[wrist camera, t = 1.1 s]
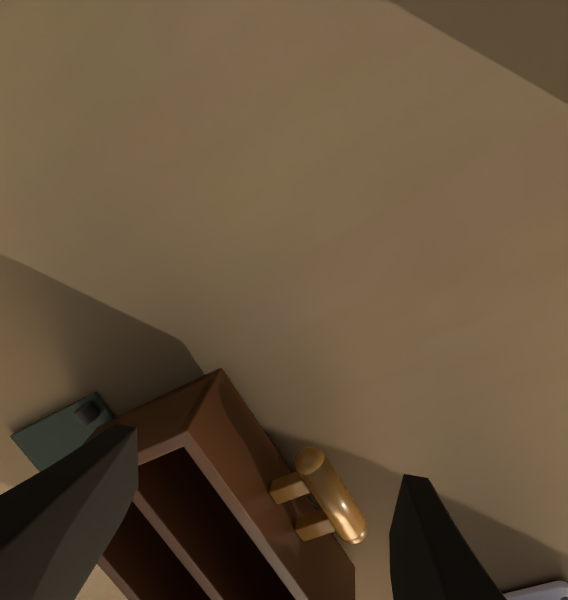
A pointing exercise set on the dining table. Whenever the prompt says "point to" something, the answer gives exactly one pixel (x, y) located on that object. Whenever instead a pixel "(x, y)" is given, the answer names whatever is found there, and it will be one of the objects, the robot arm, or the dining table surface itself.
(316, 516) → the drawer
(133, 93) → the dining table surface
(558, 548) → the dining table surface
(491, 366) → the dining table surface
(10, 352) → the dining table surface
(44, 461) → the flat teal board
